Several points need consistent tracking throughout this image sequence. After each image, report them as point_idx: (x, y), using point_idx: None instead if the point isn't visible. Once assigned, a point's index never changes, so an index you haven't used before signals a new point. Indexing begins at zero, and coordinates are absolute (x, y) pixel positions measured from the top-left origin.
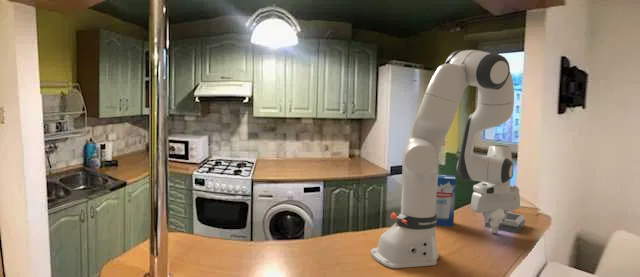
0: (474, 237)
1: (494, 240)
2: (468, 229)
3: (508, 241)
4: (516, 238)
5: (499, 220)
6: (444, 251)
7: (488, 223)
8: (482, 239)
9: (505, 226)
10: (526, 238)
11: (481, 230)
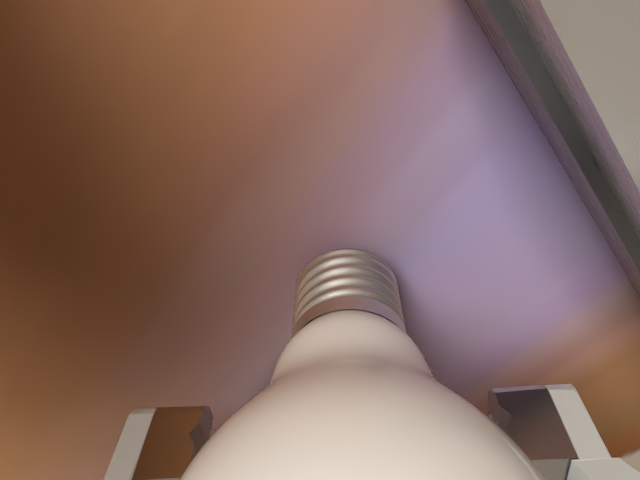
0: (15, 335)
1: (214, 422)
2: (21, 57)
3: None
4: None
5: None
6: None
7: (485, 17)
8: (91, 388)
9: (627, 257)
10: (605, 431)
11: (233, 138)
